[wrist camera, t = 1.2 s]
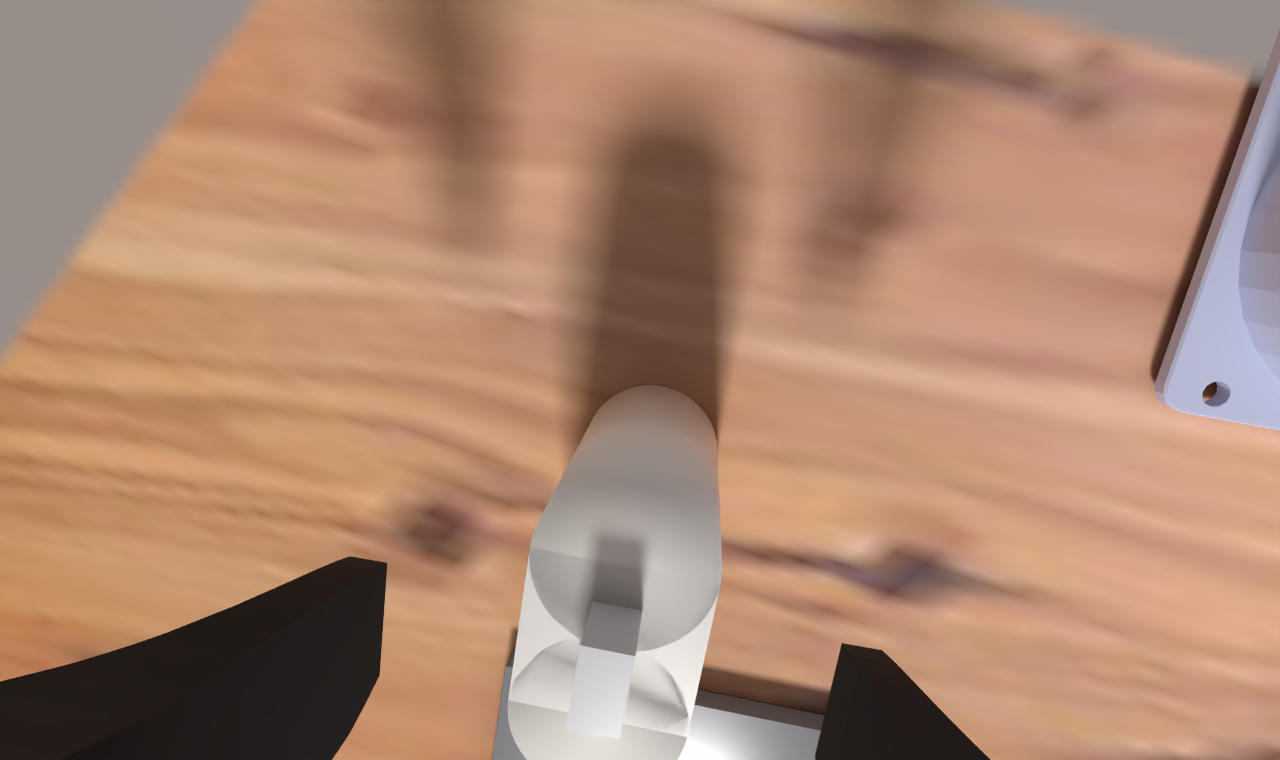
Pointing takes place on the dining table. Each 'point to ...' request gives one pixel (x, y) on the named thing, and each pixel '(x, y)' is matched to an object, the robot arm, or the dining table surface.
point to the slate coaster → (713, 729)
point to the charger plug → (621, 587)
